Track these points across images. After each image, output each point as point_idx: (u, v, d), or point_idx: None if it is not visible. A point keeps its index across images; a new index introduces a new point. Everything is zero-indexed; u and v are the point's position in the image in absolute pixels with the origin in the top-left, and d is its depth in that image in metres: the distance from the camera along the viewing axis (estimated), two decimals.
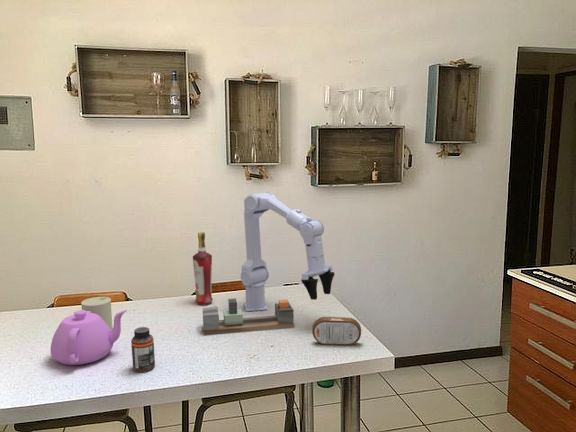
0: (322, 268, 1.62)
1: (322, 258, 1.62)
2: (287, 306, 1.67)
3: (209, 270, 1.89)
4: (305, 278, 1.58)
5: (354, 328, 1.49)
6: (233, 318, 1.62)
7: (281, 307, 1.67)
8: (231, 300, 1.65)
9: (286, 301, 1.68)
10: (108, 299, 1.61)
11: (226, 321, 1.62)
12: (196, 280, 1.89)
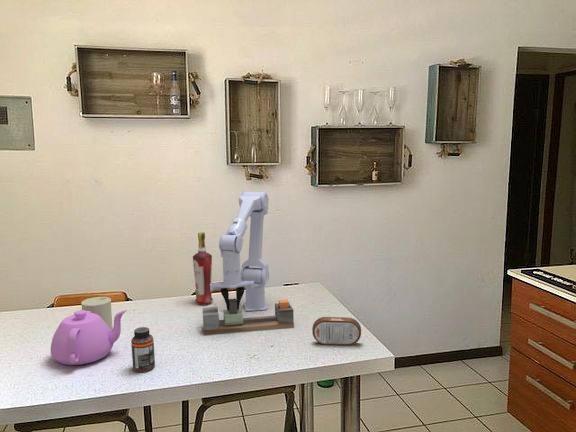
0: (230, 284, 1.61)
1: (232, 274, 1.61)
2: (287, 306, 1.67)
3: (209, 270, 1.89)
4: (210, 289, 1.62)
5: (354, 328, 1.49)
6: (233, 318, 1.62)
7: (281, 307, 1.67)
8: (231, 300, 1.65)
9: (286, 301, 1.68)
10: (108, 299, 1.61)
11: (226, 321, 1.62)
12: (196, 280, 1.89)
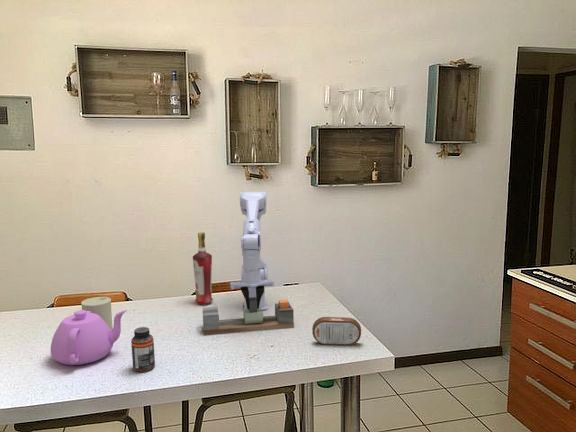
0: (251, 282, 1.62)
1: (253, 273, 1.62)
2: (287, 306, 1.67)
3: (209, 270, 1.89)
4: None
5: (354, 328, 1.49)
6: (254, 316, 1.64)
7: (281, 307, 1.67)
8: (251, 299, 1.66)
9: (286, 301, 1.68)
10: (108, 299, 1.61)
11: (246, 319, 1.63)
12: (196, 280, 1.89)
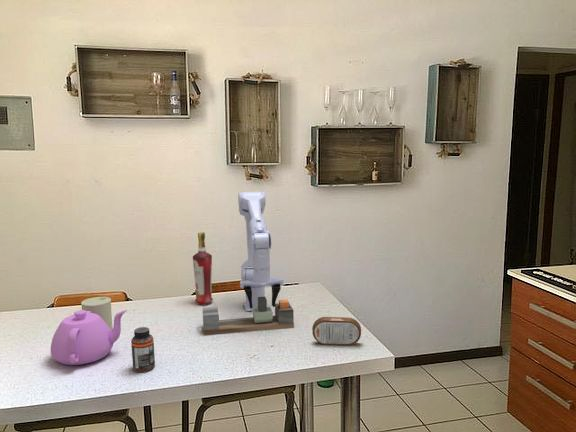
0: (261, 281, 1.63)
1: (262, 272, 1.62)
2: (287, 306, 1.67)
3: (209, 270, 1.89)
4: (240, 286, 1.64)
5: (354, 328, 1.49)
6: (263, 316, 1.64)
7: (281, 307, 1.67)
8: (261, 298, 1.67)
9: (286, 301, 1.68)
10: (108, 299, 1.61)
11: (256, 319, 1.64)
12: (196, 280, 1.89)
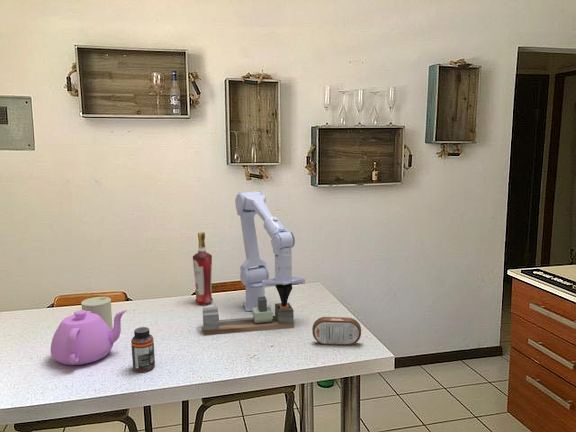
0: (283, 280, 1.64)
1: (285, 270, 1.64)
2: None
3: (209, 270, 1.89)
4: (262, 285, 1.65)
5: (354, 328, 1.49)
6: (263, 316, 1.64)
7: None
8: (261, 298, 1.67)
9: None
10: (108, 299, 1.61)
11: (256, 319, 1.64)
12: (196, 280, 1.89)
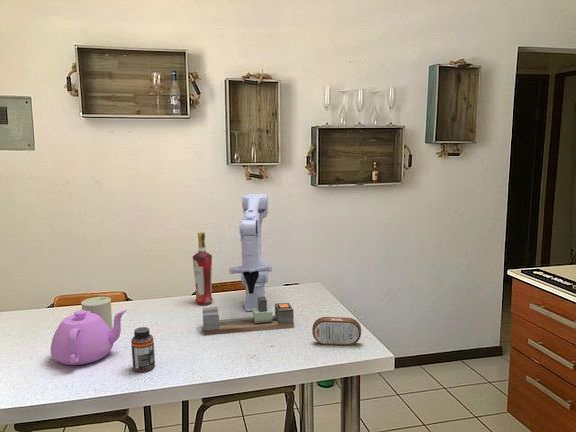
0: (249, 267, 1.66)
1: (251, 258, 1.66)
2: None
3: (209, 270, 1.89)
4: (229, 272, 1.67)
5: (354, 328, 1.49)
6: (263, 316, 1.64)
7: None
8: (261, 298, 1.67)
9: (286, 306, 1.68)
10: (108, 299, 1.61)
11: (256, 319, 1.64)
12: (196, 280, 1.89)
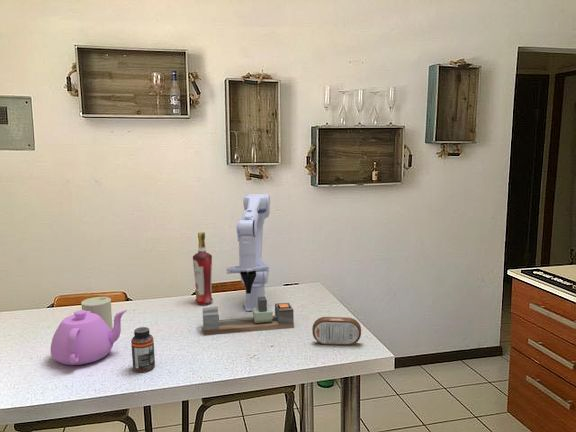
0: (247, 267, 1.66)
1: (248, 258, 1.66)
2: None
3: (209, 270, 1.89)
4: None
5: (354, 328, 1.49)
6: (263, 316, 1.64)
7: None
8: (261, 298, 1.67)
9: (286, 306, 1.68)
10: (108, 299, 1.61)
11: (256, 319, 1.64)
12: (196, 280, 1.89)
